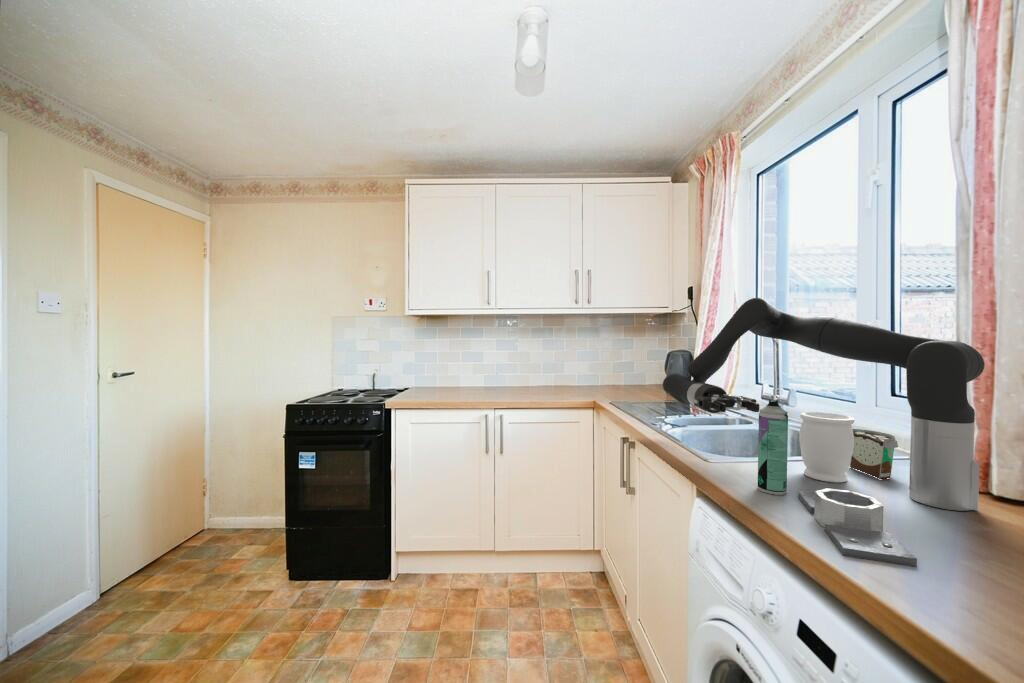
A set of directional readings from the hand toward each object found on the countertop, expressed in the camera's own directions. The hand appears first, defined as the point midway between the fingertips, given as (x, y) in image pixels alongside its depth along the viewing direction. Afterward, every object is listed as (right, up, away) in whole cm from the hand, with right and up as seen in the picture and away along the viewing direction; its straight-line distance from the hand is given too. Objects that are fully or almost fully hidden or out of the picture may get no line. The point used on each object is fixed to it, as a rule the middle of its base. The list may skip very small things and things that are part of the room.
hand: (741, 408), depth 106 cm
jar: (+19, -17, -2) cm, 25 cm away
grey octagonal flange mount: (+4, -17, -28) cm, 33 cm away
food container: (+34, -17, +1) cm, 38 cm away
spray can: (+1, -17, -11) cm, 20 cm away
